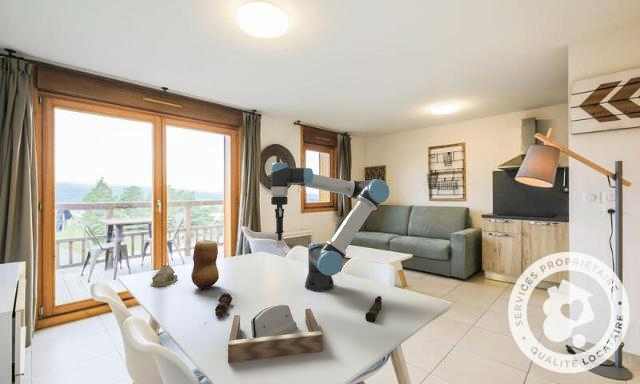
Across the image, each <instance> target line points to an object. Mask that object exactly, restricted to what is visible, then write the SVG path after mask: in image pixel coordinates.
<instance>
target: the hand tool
mask: <svg viewBox="0 0 640 384" xmlns="http://www.w3.org/2000/svg"><path fill="white" fill-rule="evenodd" d="M380 310H382V296H381V295H378V296H376V297H375V299H374V301H373V304H372V305H371V306H370V308H369V310H368V311H367V312H365V314H364V316H365V317H364V318H365V319H364V320H366V322H369V323H375V322H376V319H377V316H378V314H379V311H380Z"/></svg>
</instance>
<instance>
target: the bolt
mask: <svg viewBox="0 0 640 384" xmlns="http://www.w3.org/2000/svg"><path fill="white" fill-rule="evenodd" d="M232 301H233V297H232V295H231V294H230V293H227V292H225V293H222V294H221V295H220V297H219V298H218V302H219V303H217V305H216V306H215V308H214V311H215V313H214V314H215V316H216V317H217V318H222V317H223V315H225V314H226V312H227V311H228V309H229V307H228V306H230V304H231V303H232Z"/></svg>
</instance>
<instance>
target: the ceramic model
mask: <svg viewBox="0 0 640 384" xmlns="http://www.w3.org/2000/svg"><path fill="white" fill-rule="evenodd" d="M175 273H176V272H175V270H174V269H173V267H172V266H170V265H169V264H164V265H162V267H160V269H159V270H158V271H157V272H156V274H155V275H153V277H151V280H152V282H151V283H150V284H149V285H150V287H153V288H154V287H166V286H170V285H173V284H174V283H176V282H177V280H178V275H177V274H175Z"/></svg>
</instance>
